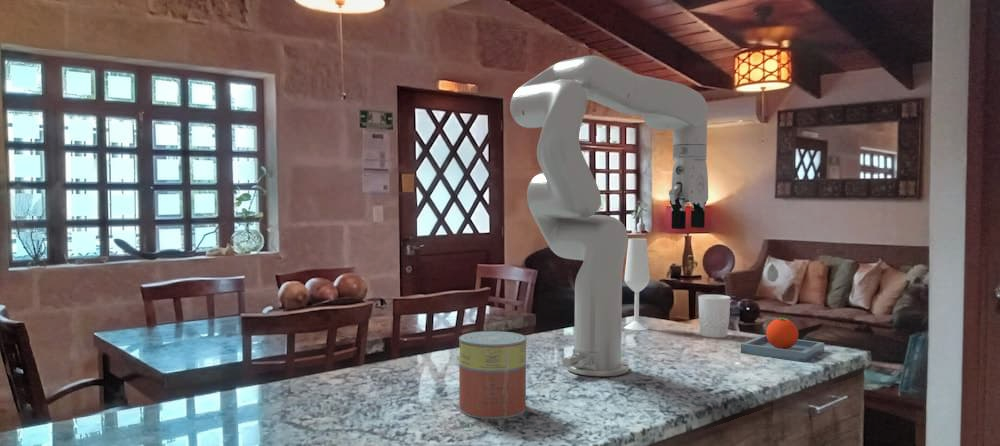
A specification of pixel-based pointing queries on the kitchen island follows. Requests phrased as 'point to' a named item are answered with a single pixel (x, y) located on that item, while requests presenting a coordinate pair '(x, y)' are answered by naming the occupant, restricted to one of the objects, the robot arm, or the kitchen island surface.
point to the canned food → (492, 374)
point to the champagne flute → (637, 275)
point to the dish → (796, 353)
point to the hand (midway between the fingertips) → (688, 228)
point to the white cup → (714, 315)
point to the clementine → (782, 333)
